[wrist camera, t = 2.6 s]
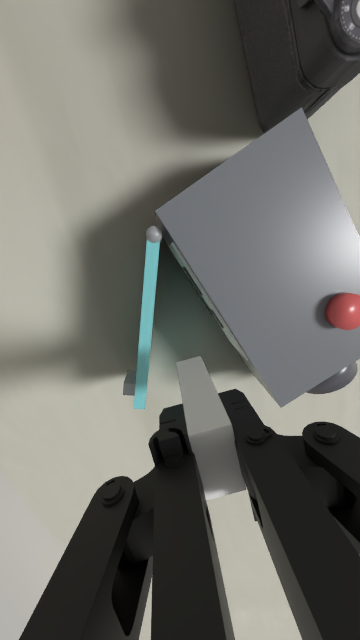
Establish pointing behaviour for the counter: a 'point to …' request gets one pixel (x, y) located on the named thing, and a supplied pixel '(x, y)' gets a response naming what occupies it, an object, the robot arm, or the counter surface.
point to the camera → (298, 53)
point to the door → (145, 321)
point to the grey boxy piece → (275, 260)
